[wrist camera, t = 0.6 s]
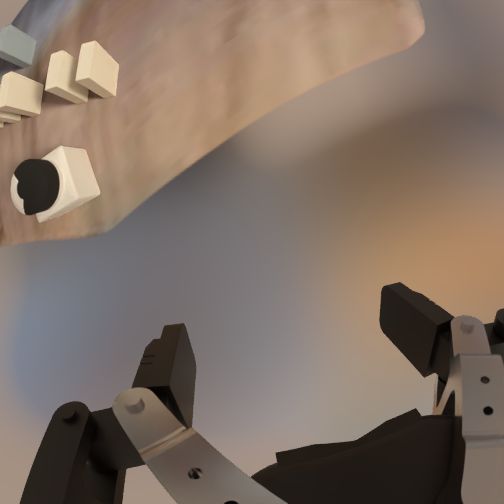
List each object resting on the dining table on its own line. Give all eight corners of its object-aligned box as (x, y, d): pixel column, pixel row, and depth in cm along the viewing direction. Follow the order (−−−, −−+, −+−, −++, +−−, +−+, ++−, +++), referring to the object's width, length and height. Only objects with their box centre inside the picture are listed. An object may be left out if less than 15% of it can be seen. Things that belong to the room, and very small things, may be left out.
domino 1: (29, 44, 25) (1, 28, 16) (37, 40, 25) (9, 23, 16) (23, 68, 26) (-7, 54, 17) (31, 65, 26) (0, 50, 17)
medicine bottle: (86, 148, 32) (38, 141, 20) (102, 194, 34) (56, 203, 22) (49, 171, 32) (-2, 174, 20) (64, 215, 34) (15, 231, 22)
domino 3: (16, 95, 27) (-16, 85, 18) (24, 92, 27) (-9, 81, 19) (13, 123, 28) (-22, 118, 20) (20, 120, 29) (-15, 114, 20)
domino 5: (107, 67, 29) (81, 44, 20) (119, 65, 29) (95, 40, 21) (104, 98, 30) (75, 80, 22) (115, 96, 30) (88, 77, 22)
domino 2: (35, 88, 28) (3, 75, 19) (43, 85, 28) (11, 71, 19) (31, 116, 29) (-3, 109, 20) (40, 114, 29) (5, 105, 20)
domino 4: (80, 73, 28) (51, 54, 20) (91, 71, 29) (63, 50, 20) (77, 104, 30) (44, 90, 21) (87, 101, 30) (56, 86, 21)
